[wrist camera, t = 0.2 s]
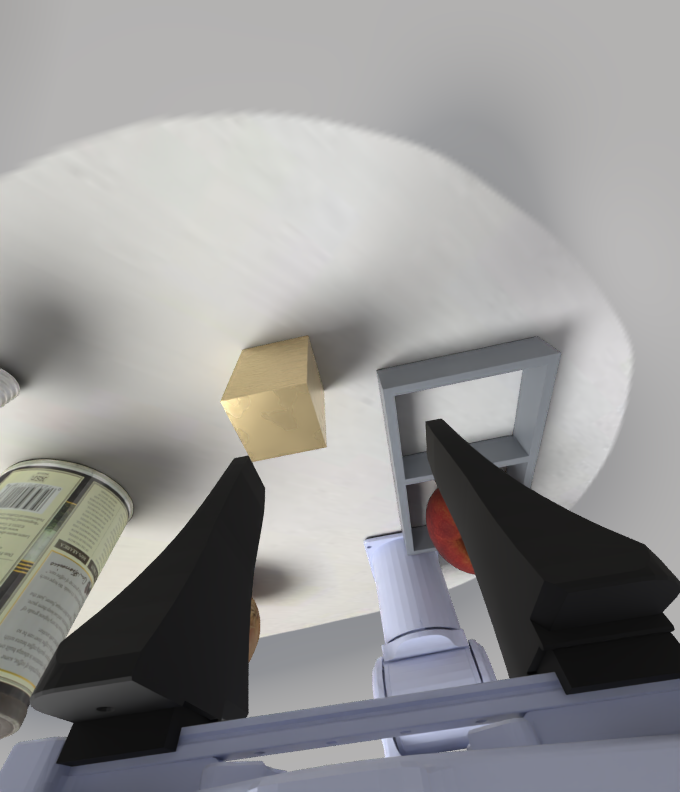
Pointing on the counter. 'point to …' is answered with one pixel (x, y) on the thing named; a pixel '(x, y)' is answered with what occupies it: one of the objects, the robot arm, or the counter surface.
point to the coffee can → (48, 565)
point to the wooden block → (277, 400)
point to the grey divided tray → (503, 451)
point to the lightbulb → (7, 388)
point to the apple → (446, 534)
